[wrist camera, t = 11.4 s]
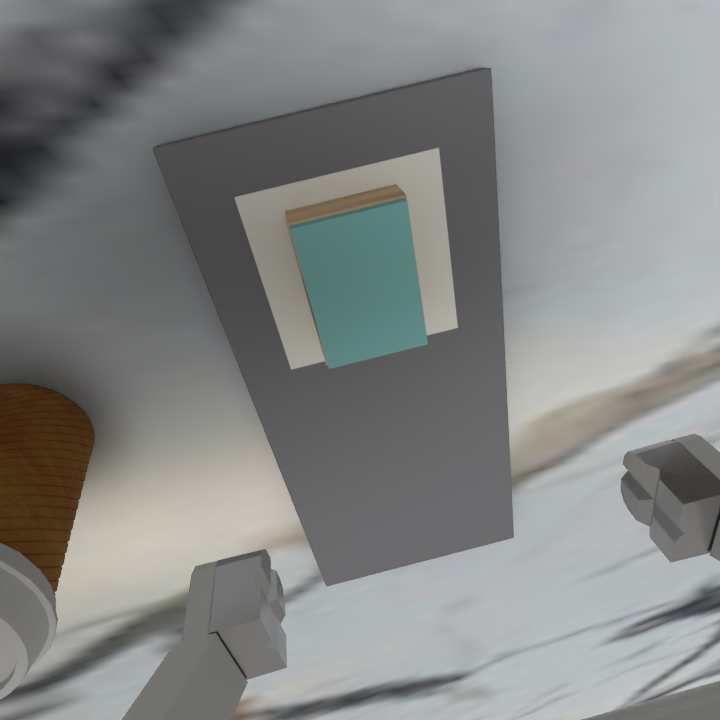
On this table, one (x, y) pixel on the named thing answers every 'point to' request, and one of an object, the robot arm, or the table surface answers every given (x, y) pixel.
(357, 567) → the rubber mat
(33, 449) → the disposable coffee cup
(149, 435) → the table surface
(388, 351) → the teal flat block
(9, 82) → the table surface
